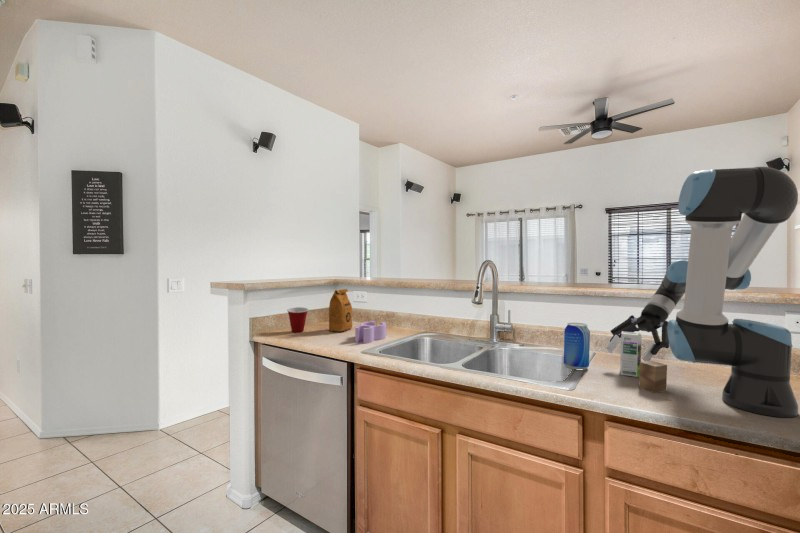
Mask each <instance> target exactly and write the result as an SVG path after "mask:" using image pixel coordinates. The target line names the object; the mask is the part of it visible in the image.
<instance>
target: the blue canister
mask: <svg viewBox="0 0 800 533" xmlns="http://www.w3.org/2000/svg"><path fill="white" fill-rule="evenodd" d="M590 338H591V331H590V329H589V327H588V324H586V323H583V322H582V323H580V322H567V324H566V326H565V328H564V339H563V364H564V365H565V368H567V369H570V370H574V369H583V370H582V371H586V370H587V369H588V368H589V367H590V342H591V339H590Z"/></svg>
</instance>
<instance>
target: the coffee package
mask: <svg viewBox="0 0 800 533" xmlns="http://www.w3.org/2000/svg"><path fill="white" fill-rule="evenodd" d="M348 292H349V290H348V288H343V289H335V290H334V291H333V293H332V296H331V297H330V300H329V307H328V331H329V332H338V333H339V332H345V331H349V330H351V329H353V306H352V303H351V302H350V299H349V298H348V295H347V293H348Z"/></svg>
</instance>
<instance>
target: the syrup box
mask: <svg viewBox="0 0 800 533" xmlns="http://www.w3.org/2000/svg"><path fill="white" fill-rule="evenodd" d="M620 339H621V341H620V364H619V365H620V375H621V376H628V377H635V378H639V373H640V362H642V335H641V333H640V332H623V331H622V332H621V338H620Z"/></svg>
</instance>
